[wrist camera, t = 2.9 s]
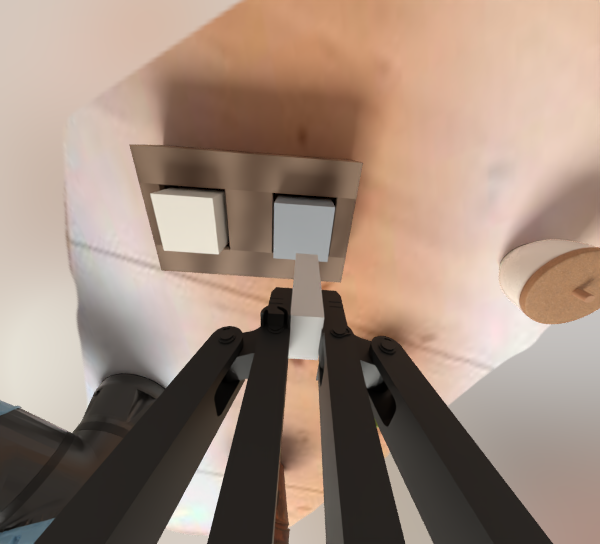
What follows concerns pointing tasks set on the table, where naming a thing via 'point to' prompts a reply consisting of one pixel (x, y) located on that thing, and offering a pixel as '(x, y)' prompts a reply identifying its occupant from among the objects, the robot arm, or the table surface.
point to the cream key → (191, 220)
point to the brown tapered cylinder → (281, 512)
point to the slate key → (302, 227)
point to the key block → (249, 204)
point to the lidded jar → (552, 280)
